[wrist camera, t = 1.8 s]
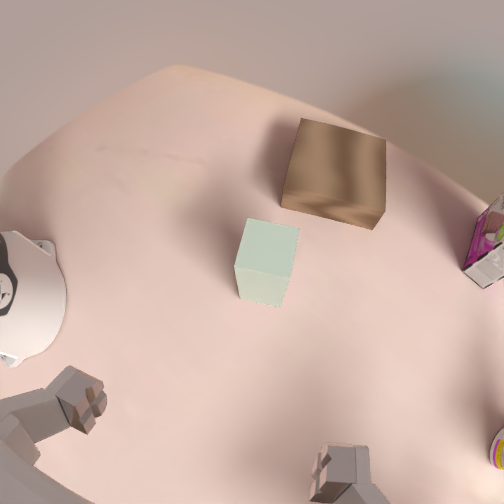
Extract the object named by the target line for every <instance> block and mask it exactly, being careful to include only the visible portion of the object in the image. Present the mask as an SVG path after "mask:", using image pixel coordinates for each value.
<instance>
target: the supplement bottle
mask: <svg viewBox="0 0 504 504" xmlns="http://www.w3.org/2000/svg"><path fill="white" fill-rule="evenodd" d="M490 462H491V464H492V466H493V467H495V468H498V469H503V470H504V428H502V429H501V430H500V431H499V433H498V434H497V436H496V437H495V439H494V441H493V443H492V446H491V449H490Z"/></svg>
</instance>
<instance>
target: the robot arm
mask: <svg viewBox="0 0 504 504" xmlns="http://www.w3.org/2000/svg"><path fill="white" fill-rule="evenodd" d="M65 308H66V287H65V281H64V278H63V275H62V273H61V271H60V269H59V267H58V265H57V262H56V250H55V245H54V244H53V243H52V242H50V241H49V240H29V239H28V238H26V237H25V236H23V235H22V234H21V233H19V232H18V231H16V230H13V231H12V232H11V231H3V232H0V359H1V360H2V361H3V363H4V364H5V365H6V366H8V367H10V368H15V367H17V366H18V365H19V364H20V363H21V362H22V361H23V360H24V359H25V358H27V357H31V356H34V355H37V354H39V353H41V352H42V351H44V350H45V349H46V348H47V347H48V346H49V345H50V344H51V343H52V341H53V340H54V338H55V337H56V335H57V333H58V331H59V329H60V327H61V324H62V321H63V318H64V314H65ZM103 388H104V385H103V381H101V380H99V379H97V378H95V377H92V376H90V375H88V374H86V373H84V372H82V371H81V370H78V369H76V368H74V367H72V366H67V367H66V368H65V369H64V370H63V371H62V372H61V373H60V374H59V375H58V376H57V377H56V378H55V379H54V380H53V381H52V382H51V383H50V384H49V385H48V386H47V387H46V389H43V388H40V389H37V390H33V391H30V392H26V393H23V394H19V395H16V396H12V397H8V398H5V399H1V400H0V504H95V503H93V502H91V501H89V500H87V499H85V498H83V497H82V496H80V495H78V494H76V493H75V492H73V491H71V490H70V489H68V488H66V487H65V486H63V485H62V484H60V483H58V482H57V481H55V480H54V479H52V478H51V477H49V476H48V475H46V474H45V473H43V472H42V471H40V470H39V469H38V468H36V467H35V466H33V465H34V464H35V462H36V461H37V460H38V458H39V457H40V451H39V450H38V449H37V447H36V446H35V444H34V443H37V442H39V441H41V440H43V439H46V438H48V437H50V436H52V435H54V434H57V433H59V432H61V431H63V430H65V429H67V428H69V427H70V426H71V427H73V428H75V429H77V430H79V431H81V432H83V433H85V434H87V435H88V433H89V432H90V431H91V429H92V428H93V427H94V425H95V424H96V422H95V418H97V417H99V416H101V415H102V414H103V412H104V411H105V409H106V406H107V396H106V394H105V393H104V391H103V390H102V389H103ZM312 477H313V479H314V480H315V481H314V482H313V484H312V485H311V487H310V498H309V501H311V502H321V503H332V504H390V503H389V501H388V500H387V499H386V498H385V496H384V495H383V494H382V493H381V491H380V490H379V489H378V487H377V486H376V485H375V484H371V473H370V458H369V448H368V447H367V446H363V445H353V444H339V443H328V442H326V443H324V445H323V446H322V452H321V453H318V455H317V456H316V458H315V461H314V464H313V468H312Z"/></svg>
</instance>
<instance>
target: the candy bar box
mask: <svg viewBox="0 0 504 504" xmlns="http://www.w3.org/2000/svg"><path fill="white" fill-rule="evenodd" d="M462 271H463V272H464V273H465V274H466V275H467V276H468V277H469V278H471V279H472V280H473V281H475V282H476V283H477V284H478V285H479V286H480V287H481V288H483V289H485V288H486V287H488V286H490V285H492V284H493V283H495V282H497V281H499V280H500V279H502V278H504V192H503V193H502V194H501V195H500V196H499V197H498V198H497V199H496V200H495V201H494V202H493V203H492V204H491V205H490V206H489V207H488V208H487V209H486V210H485V211H484V212H483V213H482V214H481V215H480V216H479V217H478V220H477V224H476V228H475V232H474V235H473V239H472V242H471V246H470V249H469V252H468V256H467V259H466V262H465V265H464V268H463V270H462Z"/></svg>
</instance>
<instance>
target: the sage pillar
mask: <svg viewBox="0 0 504 504" xmlns="http://www.w3.org/2000/svg"><path fill="white" fill-rule="evenodd" d="M299 230H300V228H296V227H291V226H286V225H281V224H277V223H272V222H267V221H262V220H257V219H252V218H247V221H246V225H245V228H244V232H243V235H242V239H241V243H240V246H239V250H238V253H237V257H236V261H235V264H234V269H235V274H236V280H237V285H238V291H239V296H240V299H243V300H247V301H252V302H256V303H261V304H265V305H270V306H274V307H279V308H280V307H281V304H282V301H283V298H284V295H285V292H286V289H287V286H288V283H289V280H290V276H291V271H292V266H293V261H294V256H295V251H296V245H297V240H298V235H299Z"/></svg>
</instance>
